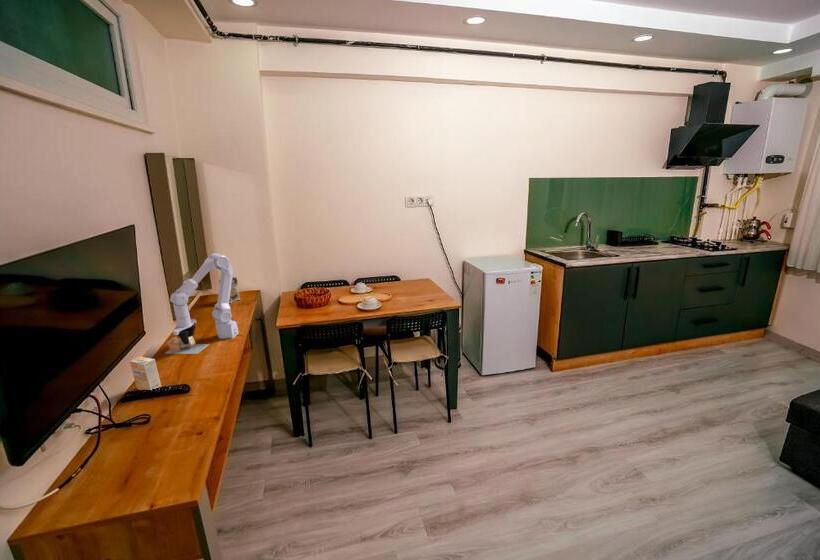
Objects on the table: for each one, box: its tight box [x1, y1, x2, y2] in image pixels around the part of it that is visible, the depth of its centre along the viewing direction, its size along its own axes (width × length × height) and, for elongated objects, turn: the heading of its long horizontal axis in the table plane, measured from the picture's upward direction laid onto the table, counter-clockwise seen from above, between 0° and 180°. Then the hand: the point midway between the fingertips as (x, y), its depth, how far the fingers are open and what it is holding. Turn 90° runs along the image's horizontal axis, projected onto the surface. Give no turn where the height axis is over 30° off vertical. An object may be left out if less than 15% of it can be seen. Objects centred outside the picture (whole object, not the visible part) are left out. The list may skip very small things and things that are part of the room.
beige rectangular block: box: [174, 336, 196, 348], centre depth 183 cm, size 8×3×4 cm, turn 85°
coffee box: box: [218, 276, 241, 304], centre depth 247 cm, size 9×6×16 cm
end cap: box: [166, 336, 181, 351], centre depth 184 cm, size 6×6×4 cm
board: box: [164, 343, 211, 355], centre depth 183 cm, size 17×10×1 cm, turn 86°
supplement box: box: [129, 355, 162, 391], centre depth 149 cm, size 8×5×13 cm, turn 70°
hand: (188, 342), depth 183 cm, fingers closed on beige rectangular block, 3 cm apart
